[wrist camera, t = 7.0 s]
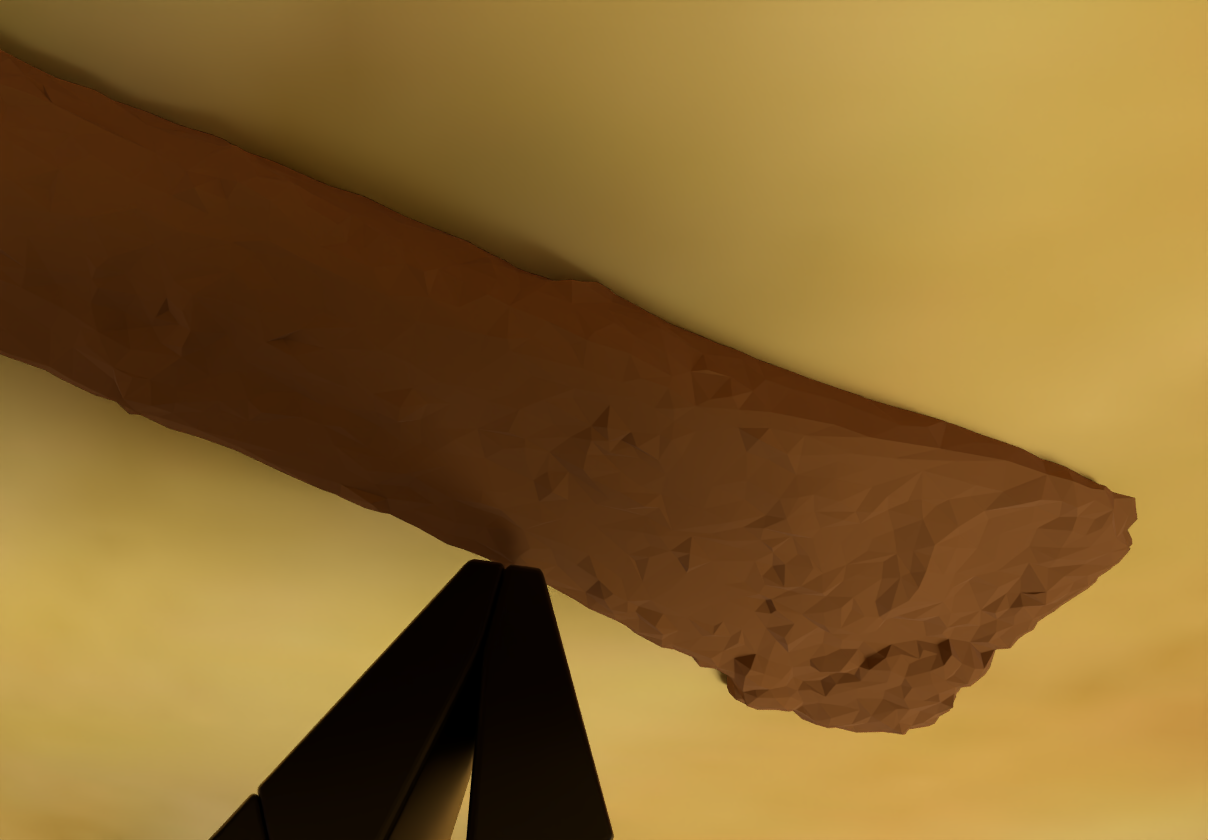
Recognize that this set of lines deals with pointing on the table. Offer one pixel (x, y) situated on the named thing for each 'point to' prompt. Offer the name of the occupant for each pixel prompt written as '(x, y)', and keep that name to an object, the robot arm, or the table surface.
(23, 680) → the table surface
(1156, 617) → the table surface
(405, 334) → the primitive tool
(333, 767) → the robot arm
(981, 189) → the table surface
